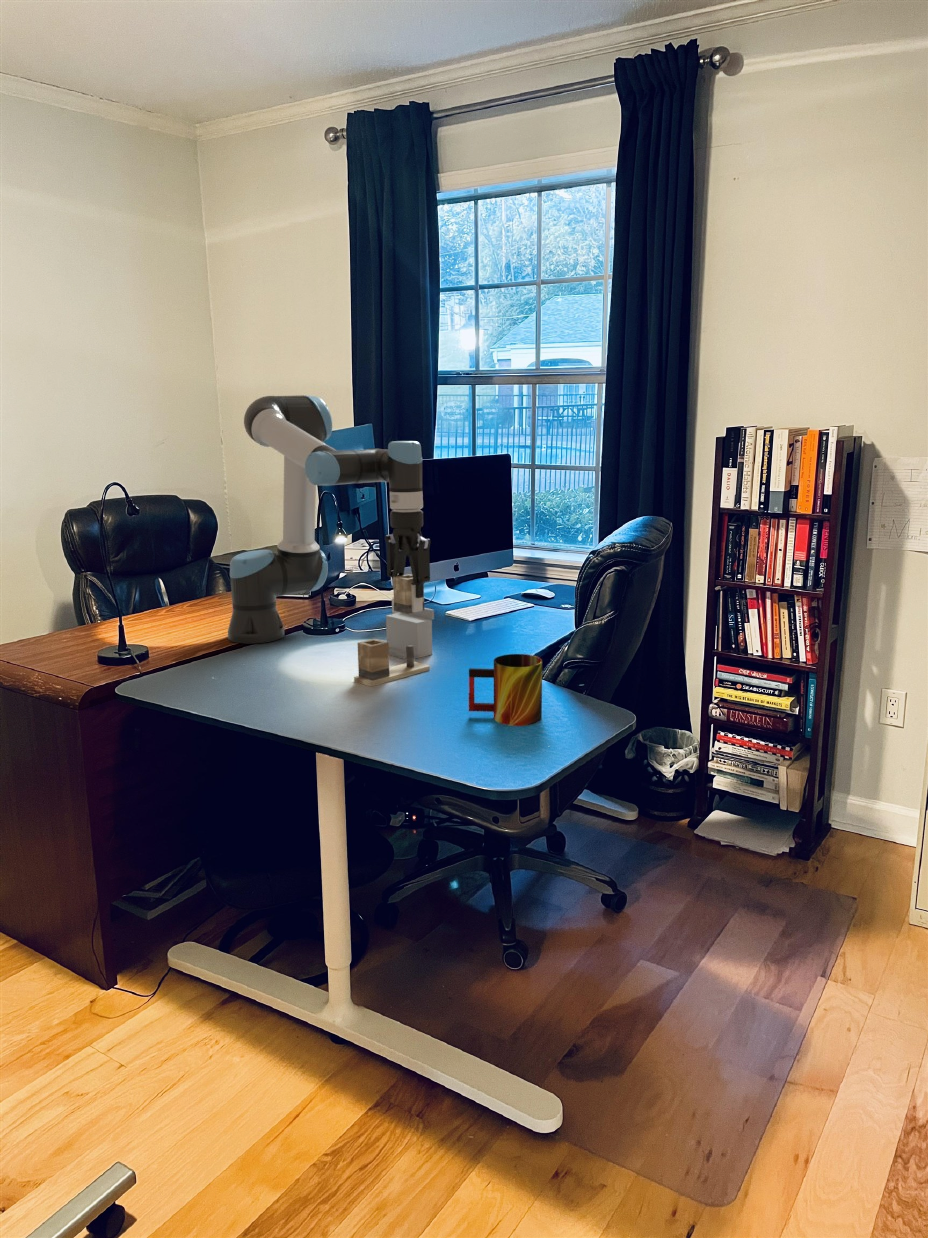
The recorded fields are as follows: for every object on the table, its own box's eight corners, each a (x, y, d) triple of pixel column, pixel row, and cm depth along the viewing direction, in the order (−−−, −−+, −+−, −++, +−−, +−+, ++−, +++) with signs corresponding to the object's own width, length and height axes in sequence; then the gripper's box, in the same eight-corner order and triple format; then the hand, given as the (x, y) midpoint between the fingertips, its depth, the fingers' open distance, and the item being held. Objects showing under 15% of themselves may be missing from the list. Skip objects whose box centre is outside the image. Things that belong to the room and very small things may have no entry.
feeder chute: (377, 651, 230) (376, 608, 228) (403, 645, 236) (402, 602, 234) (408, 660, 222) (407, 615, 219) (434, 653, 228) (433, 609, 225)
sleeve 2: (394, 610, 210) (393, 576, 208) (410, 607, 213) (409, 574, 212) (408, 613, 207) (407, 579, 205) (424, 610, 210) (423, 576, 208)
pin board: (354, 681, 206) (353, 655, 204) (413, 665, 218) (412, 641, 217) (370, 686, 201) (369, 660, 200) (429, 670, 214) (429, 645, 212)
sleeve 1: (358, 676, 206) (357, 642, 204) (375, 671, 209) (374, 638, 207) (372, 680, 202) (371, 646, 200) (389, 676, 206) (388, 642, 204)
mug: (467, 715, 182) (466, 658, 179) (530, 707, 186) (531, 652, 184) (483, 731, 173) (482, 671, 170) (549, 722, 177) (549, 664, 175)
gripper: (368, 508, 208) (372, 606, 214) (420, 514, 196) (423, 618, 201) (393, 505, 214) (396, 601, 219) (445, 511, 201) (447, 612, 206)
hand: (409, 609), depth 210 cm, fingers closed on sleeve 2, 5 cm apart
